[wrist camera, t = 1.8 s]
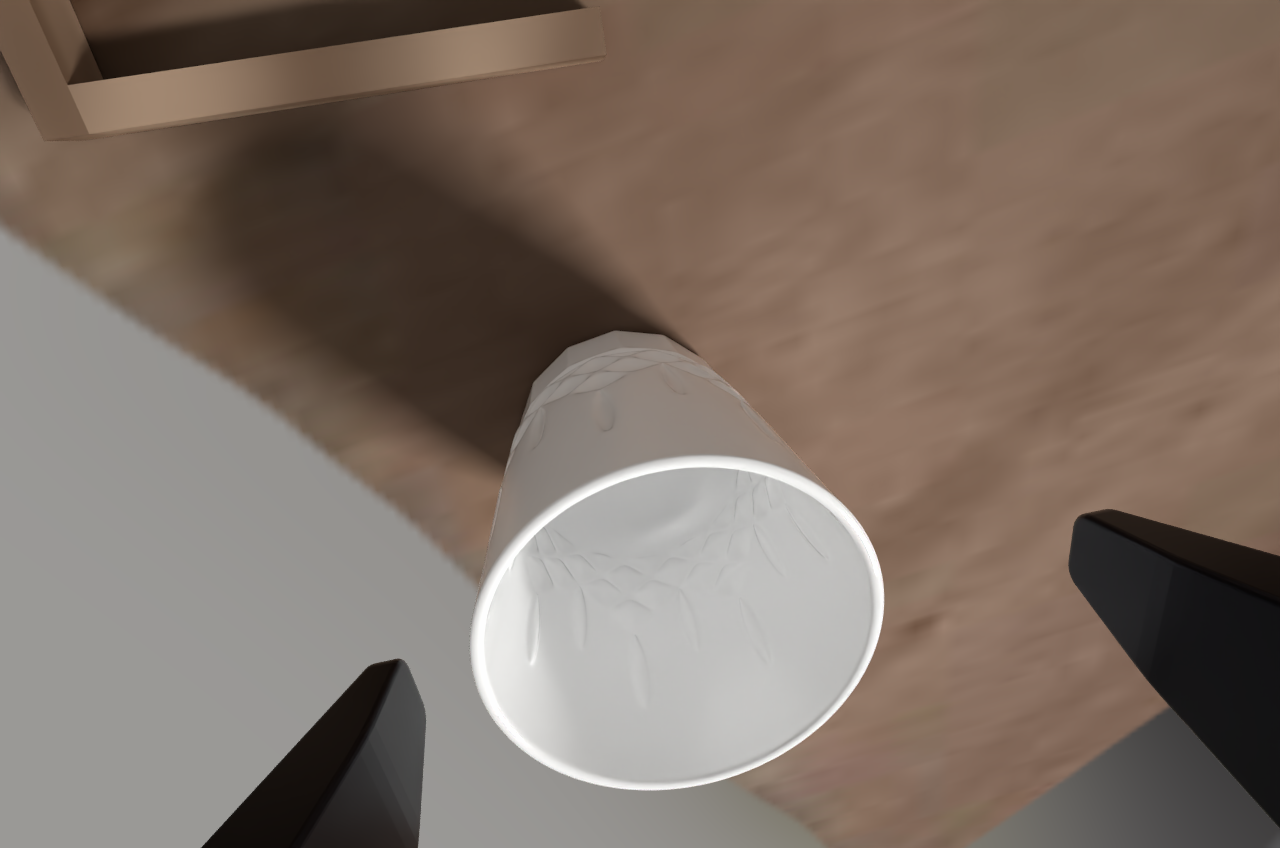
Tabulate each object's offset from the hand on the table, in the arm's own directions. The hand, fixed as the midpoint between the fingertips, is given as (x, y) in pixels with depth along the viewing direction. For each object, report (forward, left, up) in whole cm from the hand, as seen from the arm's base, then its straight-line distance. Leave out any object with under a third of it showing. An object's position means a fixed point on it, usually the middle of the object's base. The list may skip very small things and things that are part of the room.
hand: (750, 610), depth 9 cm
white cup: (+1, +3, -13) cm, 13 cm away
